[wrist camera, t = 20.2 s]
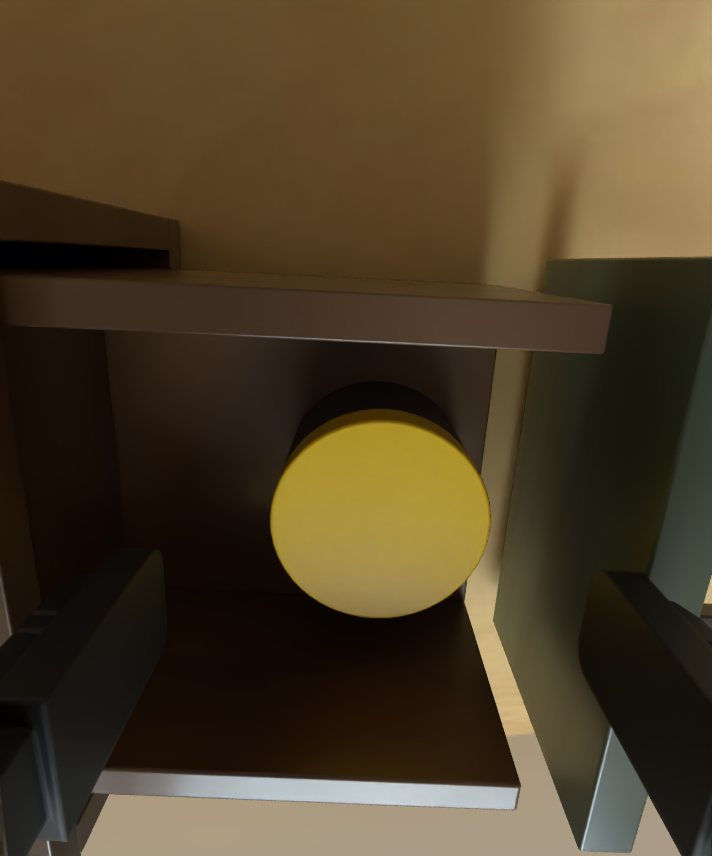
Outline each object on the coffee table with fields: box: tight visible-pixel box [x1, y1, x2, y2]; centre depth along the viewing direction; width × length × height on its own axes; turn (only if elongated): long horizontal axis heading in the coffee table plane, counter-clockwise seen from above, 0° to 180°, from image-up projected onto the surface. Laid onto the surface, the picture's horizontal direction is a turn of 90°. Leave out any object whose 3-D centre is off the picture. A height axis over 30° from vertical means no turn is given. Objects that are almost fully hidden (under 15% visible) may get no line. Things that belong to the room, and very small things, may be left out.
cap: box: [270, 381, 491, 618], centre depth 14 cm, size 5×5×4 cm
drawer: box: [0, 257, 712, 853], centre depth 13 cm, size 20×13×8 cm, turn 87°
